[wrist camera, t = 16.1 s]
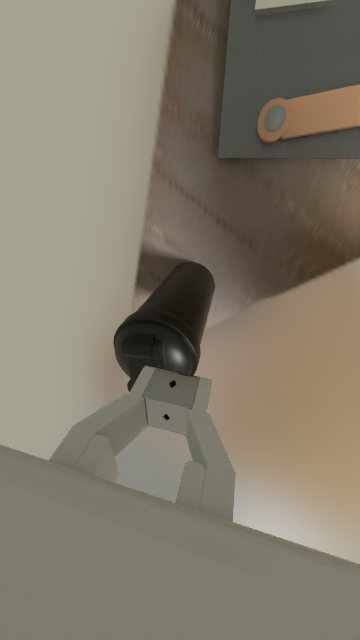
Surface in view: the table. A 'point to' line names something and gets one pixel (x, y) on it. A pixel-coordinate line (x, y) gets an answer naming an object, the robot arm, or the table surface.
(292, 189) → the table surface
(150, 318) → the water bottle
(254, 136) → the label panel
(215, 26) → the table surface
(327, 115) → the swing bar
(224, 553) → the robot arm
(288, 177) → the table surface
